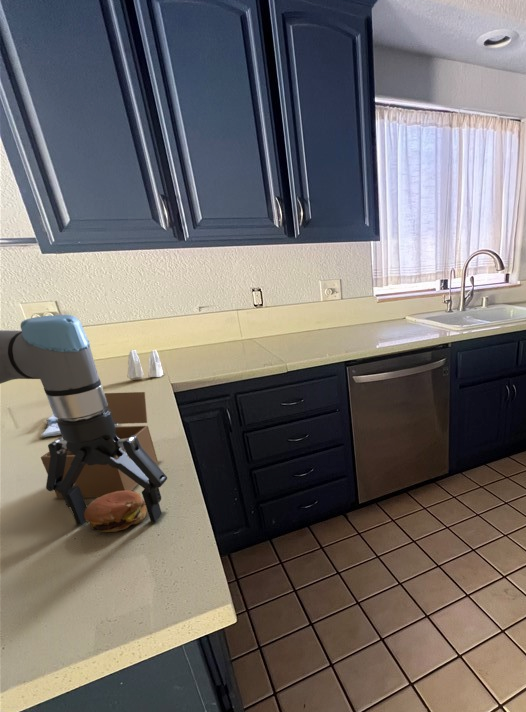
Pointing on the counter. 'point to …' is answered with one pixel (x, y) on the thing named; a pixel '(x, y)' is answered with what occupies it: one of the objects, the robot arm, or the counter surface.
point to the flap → (127, 407)
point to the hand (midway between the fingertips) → (120, 519)
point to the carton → (107, 467)
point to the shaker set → (135, 366)
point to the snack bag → (53, 427)
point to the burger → (115, 511)
